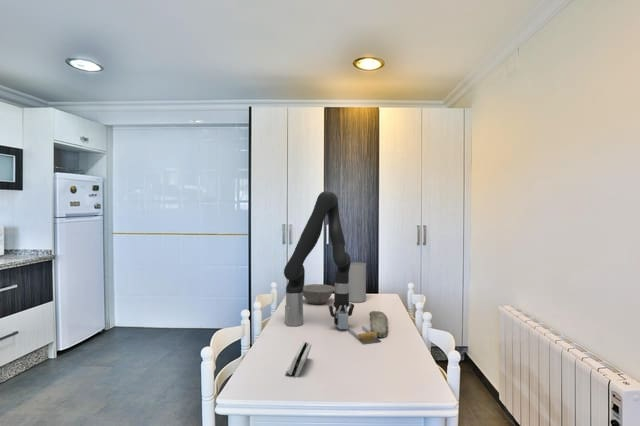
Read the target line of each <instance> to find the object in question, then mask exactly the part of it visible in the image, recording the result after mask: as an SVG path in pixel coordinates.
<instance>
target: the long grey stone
mask: <svg viewBox="0 0 640 426" xmlns="http://www.w3.org/2000/svg"><path fill="white" fill-rule="evenodd" d="M368 314H369V320H370V331H371V332H376V333H377V338H385V336H386V335H387V333H388V330H389V327H388V325H389V323H388V320H389V319H388V317H387V315H386V314H385V313H384V312H382V311H376V310H373V311H369V312H368Z"/></svg>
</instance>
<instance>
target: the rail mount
mask: <svg viewBox="0 0 640 426" xmlns="http://www.w3.org/2000/svg"><path fill="white" fill-rule="evenodd" d="M361 330H362V331H363V332H362V333H356V332H355V331H354V330H353V329H352V328H350V327H348V328H347V333H348V334H350V335H351V336H352V337H354V338H355V339H356V340H357V341H358V342H359V343H361V344H362V345H370V344H377V343H381V342H382V340H380V339H379V337H377V333H376V332H372V331H371V329H370V330H369V329H368V328H367V327H365V326H363V325H362V326H361Z"/></svg>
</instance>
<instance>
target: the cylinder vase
mask: <svg viewBox="0 0 640 426" xmlns="http://www.w3.org/2000/svg"><path fill="white" fill-rule="evenodd" d="M366 286H367V263H364V262H357V261H356V262H355V261H353V262H351V263H350V270H349V303H355V304H357V303H360V304H361V303H364V302H366V300H367V296H366V295H367V294H366V293H367V292H366V291H367V287H366Z"/></svg>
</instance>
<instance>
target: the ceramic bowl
mask: <svg viewBox="0 0 640 426" xmlns="http://www.w3.org/2000/svg"><path fill="white" fill-rule="evenodd" d="M334 287H335V286H333V285H330V284H329V285H328V284H321V283H320V284H318V283H317V284H315V283H313V284H304V287H303V298H304V299H305V301H306V302H307V303H309V304H310V305H323V304H325V303H326V302H328V301H329V299H330V298H331V297H332V295H333V294H334Z"/></svg>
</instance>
